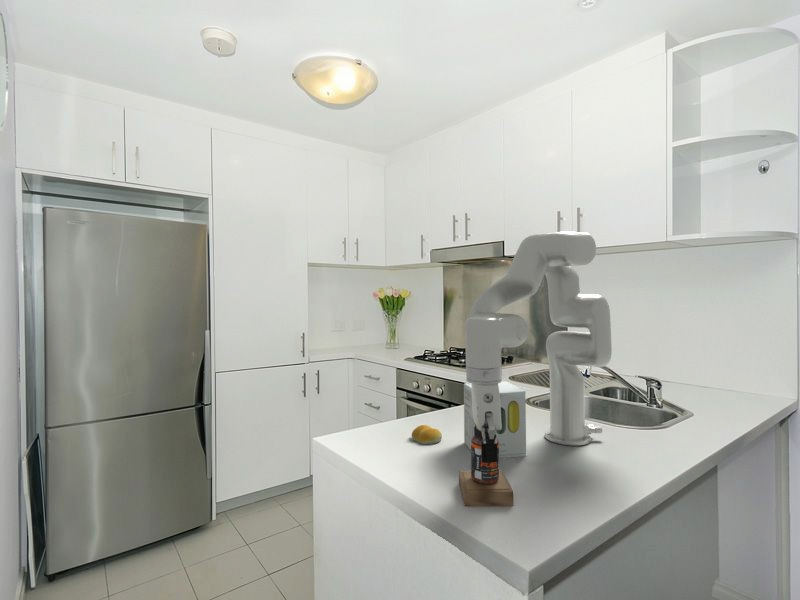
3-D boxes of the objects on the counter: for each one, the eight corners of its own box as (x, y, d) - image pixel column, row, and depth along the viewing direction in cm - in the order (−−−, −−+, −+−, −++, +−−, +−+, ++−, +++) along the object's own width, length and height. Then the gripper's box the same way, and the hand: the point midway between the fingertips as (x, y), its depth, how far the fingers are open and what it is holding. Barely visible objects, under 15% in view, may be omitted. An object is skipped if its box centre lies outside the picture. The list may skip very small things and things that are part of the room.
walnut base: (503, 483, 97) (502, 469, 97) (513, 506, 87) (513, 490, 87) (459, 483, 98) (458, 470, 98) (464, 506, 88) (464, 490, 88)
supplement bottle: (481, 487, 89) (480, 433, 89) (465, 476, 94) (465, 425, 94) (504, 482, 91) (504, 429, 91) (488, 471, 97) (487, 421, 96)
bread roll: (428, 447, 121) (428, 433, 121) (407, 439, 128) (407, 426, 128) (448, 440, 126) (448, 427, 126) (427, 433, 133) (427, 420, 133)
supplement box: (479, 460, 111) (478, 393, 110) (463, 442, 124) (462, 382, 123) (527, 456, 113) (526, 390, 113) (506, 439, 126) (506, 380, 126)
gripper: (510, 383, 83) (512, 469, 84) (493, 365, 101) (495, 437, 101) (472, 384, 83) (474, 470, 84) (461, 366, 101) (463, 438, 101)
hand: (485, 452), depth 93 cm, fingers open, 9 cm apart
